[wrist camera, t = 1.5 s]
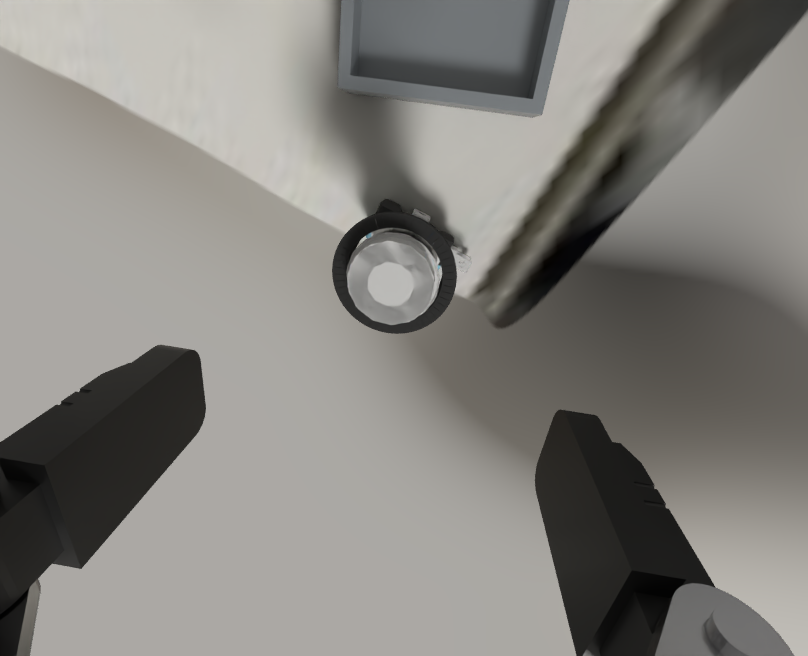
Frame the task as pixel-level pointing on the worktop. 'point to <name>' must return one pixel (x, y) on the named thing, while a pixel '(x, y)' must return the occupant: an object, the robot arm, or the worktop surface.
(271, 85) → the worktop surface
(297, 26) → the worktop surface
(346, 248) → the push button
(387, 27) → the tray
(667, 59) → the worktop surface
